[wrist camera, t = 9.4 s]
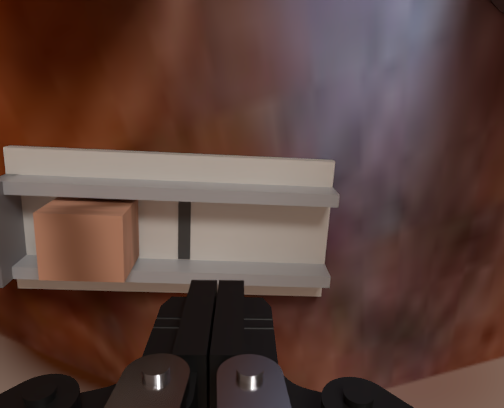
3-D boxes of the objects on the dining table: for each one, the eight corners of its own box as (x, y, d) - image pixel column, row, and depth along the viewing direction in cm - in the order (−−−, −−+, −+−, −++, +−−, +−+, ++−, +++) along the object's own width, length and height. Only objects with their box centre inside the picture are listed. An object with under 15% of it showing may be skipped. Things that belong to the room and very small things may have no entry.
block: (137, 197, 34) (122, 216, 30) (139, 255, 36) (124, 282, 31) (61, 194, 34) (32, 212, 29) (65, 253, 35) (38, 280, 31)
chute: (332, 159, 36) (347, 171, 31) (318, 291, 39) (330, 320, 34) (9, 145, 34) (-28, 155, 29) (23, 282, 37) (-8, 312, 33)
